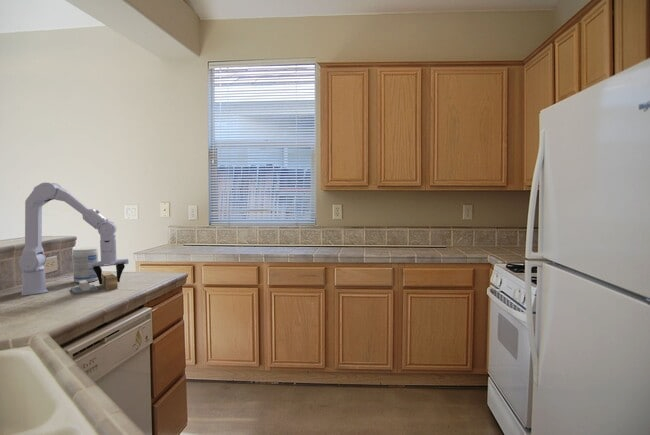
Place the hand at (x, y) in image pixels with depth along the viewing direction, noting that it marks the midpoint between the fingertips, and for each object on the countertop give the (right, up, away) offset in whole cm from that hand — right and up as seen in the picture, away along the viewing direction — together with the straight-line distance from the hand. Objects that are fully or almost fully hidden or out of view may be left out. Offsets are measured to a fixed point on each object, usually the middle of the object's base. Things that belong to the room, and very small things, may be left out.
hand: (109, 282), depth 156 cm
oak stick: (0, -2, 0) cm, 2 cm away
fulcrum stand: (-7, -2, -6) cm, 9 cm away
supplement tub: (-17, -1, +11) cm, 20 cm away
